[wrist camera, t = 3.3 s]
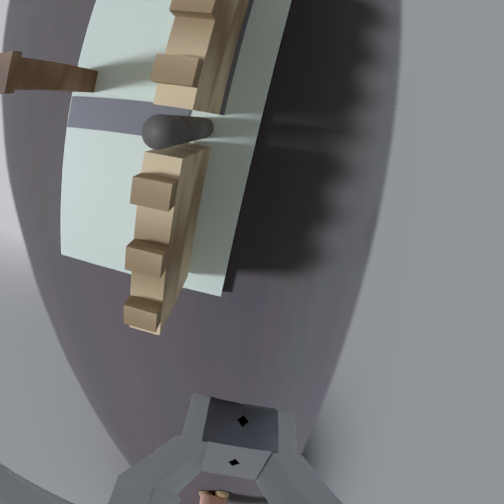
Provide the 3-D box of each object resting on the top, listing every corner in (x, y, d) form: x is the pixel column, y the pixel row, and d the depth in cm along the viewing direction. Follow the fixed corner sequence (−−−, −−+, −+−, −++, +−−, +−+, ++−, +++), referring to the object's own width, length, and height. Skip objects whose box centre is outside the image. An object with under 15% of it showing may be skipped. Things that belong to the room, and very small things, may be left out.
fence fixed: (226, -15, 13) (202, -83, 6) (252, -11, 13) (242, -81, 6) (187, 136, 16) (135, 146, 10) (213, 140, 17) (176, 153, 10)
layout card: (110, -25, 13) (106, -29, 12) (295, -14, 13) (296, -19, 12) (65, 250, 20) (60, 254, 20) (221, 291, 21) (220, 297, 20)
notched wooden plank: (184, 141, 16) (136, 154, 10) (211, 146, 16) (176, 161, 10) (164, 270, 19) (123, 336, 13) (187, 276, 19) (154, 346, 13)
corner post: (78, 67, 15) (-12, 55, 7) (101, 68, 15) (13, 50, 7) (73, 94, 15) (-19, 95, 8) (95, 95, 16) (4, 93, 8)
